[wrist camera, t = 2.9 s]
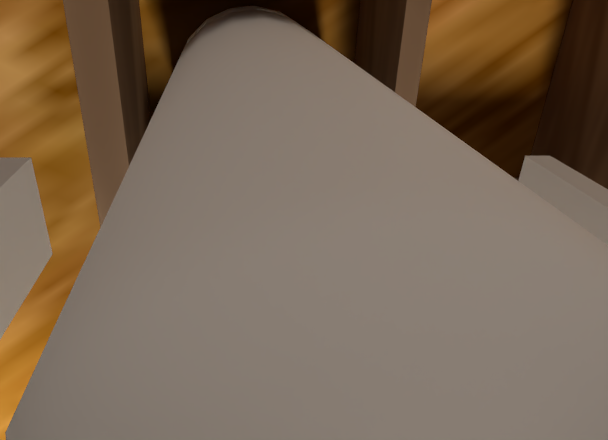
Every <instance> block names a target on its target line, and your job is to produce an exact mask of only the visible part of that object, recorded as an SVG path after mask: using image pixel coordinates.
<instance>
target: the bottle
mask: <svg viewBox="0 0 608 440" xmlns="http://www.w3.org/2000/svg"><path fill="white" fill-rule="evenodd" d="M6 440H608V245H607V244H605V243H604V242H602V241H601V240H600V239H598V238H597V237H596V236H594V235H593V234H591V233H590V232H589V231H587V230H586V229H584V228H583V227H582V226H580V225H579V224H577V223H576V222H575V221H573V220H572V219H570V218H569V217H568V216H566V215H565V214H563V213H562V212H561V211H559V210H558V209H557V208H555V207H554V206H552V205H551V204H550V203H548V202H547V201H545V200H544V199H543V198H541V197H540V196H538V195H537V194H536V193H534V192H533V191H531V190H530V189H529V188H527V187H526V186H524V185H523V184H522V183H520V182H519V181H518V180H516V179H515V178H513V177H512V176H511V175H509V174H508V173H506V172H505V171H504V170H502V169H501V168H499V167H498V166H497V165H495V164H494V163H492V162H491V161H490V160H488V159H487V158H486V157H484V156H483V155H481V154H480V153H479V152H477V151H476V150H474V149H473V148H472V147H470V146H469V145H467V144H466V143H465V142H463V141H462V140H460V139H459V138H458V137H456V136H455V135H453V134H452V133H451V132H449V131H448V130H447V129H445V128H444V127H442V126H441V125H440V124H438V123H437V122H435V121H434V120H433V119H431V118H430V117H428V116H427V115H426V114H424V113H423V112H421V111H420V110H419V109H417V108H416V107H414V106H413V105H412V104H410V103H409V102H408V101H406V100H405V99H403V98H402V97H401V96H399V95H398V94H396V93H395V92H394V91H392V90H391V89H389V88H388V87H387V86H385V85H384V84H382V83H381V82H380V81H378V80H377V79H375V78H374V77H373V76H371V75H370V74H369V73H367V72H366V71H364V70H363V69H362V68H360V67H359V66H357V65H356V64H355V63H353V62H352V61H350V60H349V59H348V58H346V57H345V56H343V55H342V54H341V53H339V52H338V51H336V50H335V49H334V48H332V47H331V46H330V45H328V44H327V43H325V42H324V41H323V40H321V39H320V38H318V37H317V36H316V35H314V34H313V33H311V32H310V31H309V30H307V29H305V28H304V27H303V26H302V25H300V24H299V23H297V22H295V21H294V20H292V19H291V18H289V17H288V16H286V15H284V14H283V13H281V12H280V11H276V10H272V9H268V8H263V7H259V6H255V5H254V6H245V7H236V8H229V9H227V10H225V11H223V12H221V13H219V14H216V15H214V16H212V17H210V18H208V19H206V20H205V21H204V22H203V23H202V25H201V26H200V27H199V28H198V29H197V30H196V31H195V32H194V33H193V34H192V35H191V36H190V37H189V38H188V41H187V43H186V45H185V47H184V49H183V51H182V53H181V56H180V58H179V60H178V62H177V64H176V66H175V69H174V71H173V73H172V75H171V77H170V79H169V81H168V84H167V86H166V88H165V90H164V92H163V94H162V97H161V99H160V101H159V103H158V105H157V107H156V109H155V112H154V114H153V116H152V118H151V120H150V122H149V124H148V127H147V129H146V131H145V133H144V135H143V137H142V140H141V142H140V144H139V146H138V148H137V150H136V152H135V155H134V157H133V159H132V161H131V163H130V165H129V168H128V170H127V172H126V174H125V176H124V178H123V180H122V183H121V185H120V187H119V189H118V191H117V193H116V196H115V198H114V200H113V202H112V204H111V206H110V208H109V211H108V213H107V215H106V217H105V219H104V221H103V223H102V226H101V228H100V230H99V232H98V234H97V236H96V239H95V241H94V243H93V245H92V247H91V249H90V251H89V254H88V256H87V258H86V260H85V262H84V264H83V267H82V269H81V271H80V273H79V275H78V277H77V279H76V282H75V284H74V286H73V288H72V290H71V292H70V295H69V297H68V299H67V301H66V303H65V305H64V307H63V310H62V312H61V314H60V316H59V318H58V320H57V323H56V325H55V327H54V329H53V331H52V333H51V335H50V338H49V340H48V342H47V344H46V346H45V348H44V351H43V353H42V355H41V357H40V359H39V361H38V364H37V366H36V368H35V370H34V372H33V374H32V377H31V379H30V381H29V383H28V385H27V387H26V390H25V392H24V394H23V396H22V398H21V400H20V403H19V405H18V407H17V409H16V411H15V413H14V416H13V418H12V420H11V422H10V424H9V426H8V429H7V431H6Z"/></svg>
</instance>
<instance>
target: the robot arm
mask: <svg viewBox="0 0 608 440" xmlns="http://www.w3.org/2000/svg"><path fill="white" fill-rule="evenodd" d="M519 182H520V183H522V184H523V185H524V186H526V187H527V188H529V189H530V190H531V191H533V192H534V193H536V194H537V195H538V196H540V197H541V198H543V199H544V200H545V201H547V202H548V203H550V204H551V205H552V206H554V207H555V208H557V209H558V210H559V211H561V212H562V213H563V214H565V215H566V216H568V217H569V218H570V219H572V220H573V221H575V222H576V223H577V224H579V225H580V226H582V227H583V228H584V229H586V230H587V231H589V232H590V233H591V234H593V235H594V236H596V237H597V238H598V239H600V240H601V241H602V242H604V243H605V244H607V245H608V189H606V188H604V187H603V186H601V185H599V184H598V183H596V182H594V181H592V180H591V179H589V178H587V177H586V176H584V175H582V174H581V173H579V172H577V171H575V170H574V169H572V168H570V167H569V166H567V165H565V164H563V163H562V162H560V161H558V160H557V159H555V158H553V157H551V156H525V158H524V162H523V166H522V169H521V173H520V177H519ZM51 256H52V250H51V245H50V241H49V236H48V232H47V227H46V223H45V218H44V214H43V209H42V205H41V200H40V196H39V191H38V187H37V183H36V178H35V174H34V169H33V165H32V160H31V158H0V339H1V337H2V336H3V334H4V332H5V331H6V329H7V327H8V326H9V324H10V323H11V321H12V319H13V318H14V316H15V314H16V313H17V311H18V309H19V308H20V306H21V305H22V303H23V301H24V300H25V298H26V296H27V295H28V293H29V291H30V290H31V288H32V287H33V285H34V283H35V282H36V280H37V278H38V277H39V275H40V273H41V272H42V270H43V269H44V267H45V265H46V264H47V262H48V260H49V259H50V257H51Z"/></svg>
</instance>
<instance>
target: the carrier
mask: <svg viewBox="0 0 608 440" xmlns="http://www.w3.org/2000/svg"><path fill="white" fill-rule="evenodd" d="M431 2H432V0H360V8H359V19H358V30H357V41H356V52H355V64H356V65H357V66H359V67H360V68H362V69H363V70H364V71H366V72H367V73H369V74H370V75H371V76H373V77H374V78H375V79H377V80H378V81H380V82H381V83H382V84H384V85H385V86H387V87H388V88H389V89H391V90H392V91H394V92H395V93H396V94H398V95H399V96H401V97H402V98H403V99H405V100H406V101H408V102H409V103H410V104H412V105H413V106H414V107H416V101H417V94H418V88H419V81H420V74H421V68H422V61H423V55H424V48H425V41H426V35H427V28H428V22H429V15H430V8H431ZM63 3H64V9H65V15H66V21H67V27H68V33H69V40H70V46H71V52H72V58H73V64H74V70H75V76H76V82H77V88H78V94H79V100H80V106H81V112H82V118H83V124H84V130H85V136H86V142H87V148H88V154H89V160H90V166H91V173H92V179H93V185H94V191H95V197H96V203H97V209H98V215H99V221H100V227H101V226H102V223H103V221H104V219H105V217H106V215H107V213H108V211H109V208H110V206H111V204H112V202H113V200H114V198H115V196H116V193H117V191H118V189H119V187H120V185H121V183H122V180H123V178H124V176H125V174H126V172H127V170H128V168H129V165H130V163H131V161H132V159H133V157H134V155H135V152H136V150H137V148H138V146H139V144H140V142H141V140H142V137H143V135H144V133H145V131H146V129H147V127H148V124H149V122H150V120H151V117H150V108H149V98H148V88H147V78H146V68H145V58H144V48H143V38H142V28H141V18H140V8H139V0H63ZM531 156H551V157H553V158H555V159H557V160H558V161H560V162H562V163H563V164H565V165H567V166H569V167H570V168H572V169H574V170H575V171H577V172H579V173H581V174H582V175H584V176H586V177H587V178H589V179H591V180H592V181H594V182H596V183H598V184H599V185H601V186H603V187H604V188H606V189H608V0H573V2H572V6H571V10H570V13H569V17H568V21H567V24H566V28H565V32H564V35H563V39H562V43H561V46H560V50H559V54H558V57H557V61H556V65H555V68H554V72H553V76H552V79H551V83H550V87H549V90H548V94H547V98H546V101H545V105H544V109H543V112H542V116H541V120H540V123H539V127H538V131H537V134H536V138H535V142H534V145H533V149H532V153H531ZM513 178H515V179H516V180H518V181H519V177H513Z"/></svg>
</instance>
